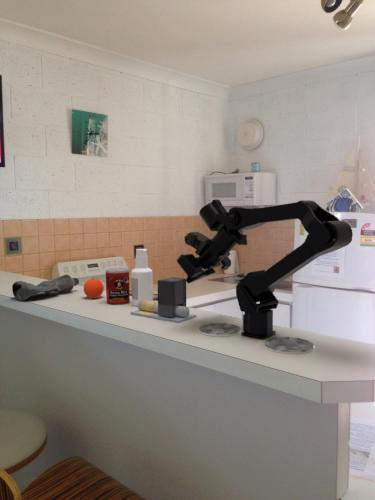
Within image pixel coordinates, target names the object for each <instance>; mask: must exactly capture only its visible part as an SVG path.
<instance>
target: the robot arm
mask: <svg viewBox="0 0 375 500" xmlns="http://www.w3.org/2000/svg"><path fill="white" fill-rule="evenodd" d="M199 216H200V218H201V220H202V221H203V222H204V223H205V225H206V226H207V228H208V229H209V231H211V232H216V234H215V235H214V236H213V237H212V238H209V237H208V236H206V235H205V234H203V233H201V232H199V231H190V232H189V233H187V234H186V235H184V243H185V245H187V246H190V247H191V248H193V249H194V250H195V252H194V253H195V254H196V255H197V257H196V256H195V255H194V254H193V253H185V254H180V255H179V256H178V257H177V259H176V262H177V264H178V265H179V266H180V268H181V269H182V270H183V272H184V273H185V275H187V276H186V278H185V279H186V284H192V283H194V282H196V281H199V280H200V279H203V278H206V277H208V276H211V275H214V274H215V273H216V270H215V268H218V267H220V266H221V265H222V266H221V268H220V270H221V271H226V270H229V268H230V267H231V266H232V260H231V259H230V258H229V257H230V255H231V253H230V252H231V251H232V250H233V249H234V248H235V247H236V245H238V246H247V245H248V239H247V237H248V235H247V234H243V233H242V231H246V230H253V229H256V228H259V227H262V226H263V225H265V224H267V223H276V222H283V221H284V222H285V221H291V220H299V222H300V223H301V224H302V227H303V229H304V230H305V232H306V233H307V236H306V238H305V239H304V241H303V242H302V244H300V245H299V246H298V247H296V248H295V249H293V250H292V251H291V252H290V253H288V254H287V255H286V256H284V257H282V258H281V259H280V260H279V261H277V262H276V263H274V264H273V265H272V266H270V267H269V268H268V269H262V270H261V269H260V270H256V271H249V272H248V273H247V274H246V275H244V276H243V278H240V279H238V282H237V284H236V286H235V295H236V299H237V302H238V306H239V310H240V312H243V313H244V314H242V332H241V336H245V337H250V338H255V339H262V340H266V339H267V338H270V337H272V336H273V335H275V334H276V333H277V331H276V330H274V322H273V321H274V309H275V310H276V309H277V308H278V306H279V300H278V298H277V297H276V296H275V294H274V293H275V290H276V288H277V287H278V285H279V284H281V283H282V282H283V281H285V280H287V279H288V278H289V277H292V276H293V275H294V274H295V273H297V272H298V271H300V270H302V268H304V267H306V266H307V265H309V264H310V263H312V262H313V261H314V260H317V259H318V258H319V257H321V256H324V255H327V254H329V253H333V252H335V251H338V250H340V249H343V248H345V247H347V246H348V245H350V244H351V243H352V242H353V229H352V227H351V225H350V224H349V223H348V222H346V221H345V220H341V219H339V218H338V217H337V216H336V215H334V214H332V213H331V212H329V211H327V209H324V208H323V207H322V206H321V205H319V204H318V203H317V202H316V201H314V200H310V199H309V200H305V199H304V200H299V201H298V200H297V202H289V203H283V204H277V205H271V206H270V205H269V206H265V207H261V206H258V207H257V206H233V207H231V208H229V210H228V211H227V210H226V208H225V207H224V206H223V204H222V202H221V201H220V199H213V200H212V201H211V202H208V203H207V204H205V205H203V207H201V208H200V210H199Z"/></svg>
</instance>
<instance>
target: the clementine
mask: <svg viewBox="0 0 375 500" xmlns="http://www.w3.org/2000/svg"><path fill="white" fill-rule="evenodd" d="M102 281H103V282H104V283H106V280H105V279H104V280H103V279H101V278H97V277H96V278H95V277H92V278H89V279H87V280H86V281H85V283H84V285H83V293H84V295H86V297H88V298H90V299H97V298H99V297H101V296H102V294H103V293H104V289H105V288H104V287H105V286H104V284H103V282H102Z"/></svg>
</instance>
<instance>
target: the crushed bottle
mask: <svg viewBox="0 0 375 500" xmlns="http://www.w3.org/2000/svg"><path fill="white" fill-rule="evenodd" d="M79 284H80V280H79V279H78V278H76V277H71V276H70V275H69V274H64V275H61V276H59V277H57V278H54V279H51V280H50V279H48V280H43V281H41V282H40V283H38V284H37V285H35V284H32V283H29V282H27V281H23V280H17V281H15V282H14V283H13V284H12V289H11V290H12V294H13V296H14V297H15V299H16V300H18V301H21V302H23V301H25V300H28V299H29V298H30V297H32V296H35V295H38V294H39V293H40V294H43V293H44V294H46V295H49V294H52V293H60V294H61V293H64V294H65V293H70V292H71V291H73V289H74V287H77V286H78V285H79Z"/></svg>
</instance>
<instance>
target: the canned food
mask: <svg viewBox="0 0 375 500" xmlns="http://www.w3.org/2000/svg"><path fill="white" fill-rule="evenodd" d="M105 293H106V296H105V297H106V298H105V300H106V302H107V304H108V305H114V306H116V305H117V306H118V305H120V306H121V305H125V304H126V305H127V304H128V303H130V300H131V299H130V297H131V296H130V294H131V293H130V269H129V268H126V267H125V268H124V267H113V268H107V269H105Z"/></svg>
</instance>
